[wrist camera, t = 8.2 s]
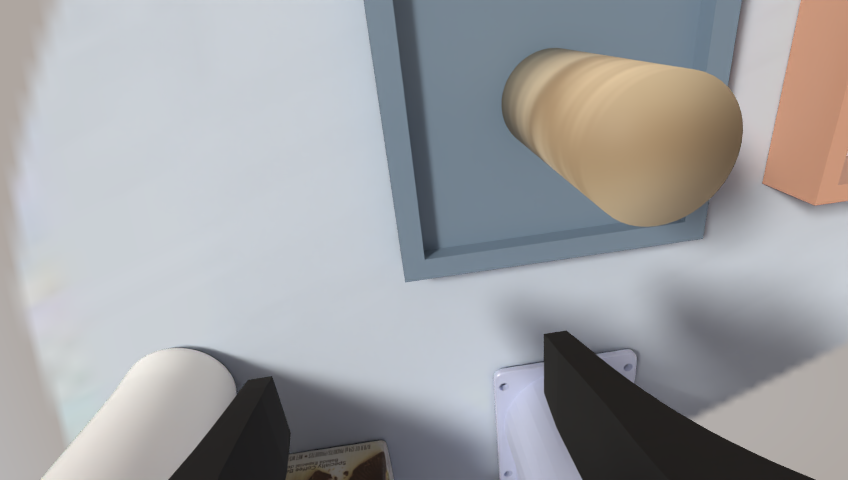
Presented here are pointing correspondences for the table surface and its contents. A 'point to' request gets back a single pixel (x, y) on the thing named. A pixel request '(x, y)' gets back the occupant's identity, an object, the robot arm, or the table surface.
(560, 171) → the maple peg
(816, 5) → the hollow square frame
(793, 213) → the table surface
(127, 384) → the white cylindrical piece
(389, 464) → the coffee box
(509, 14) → the slate tray
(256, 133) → the table surface
